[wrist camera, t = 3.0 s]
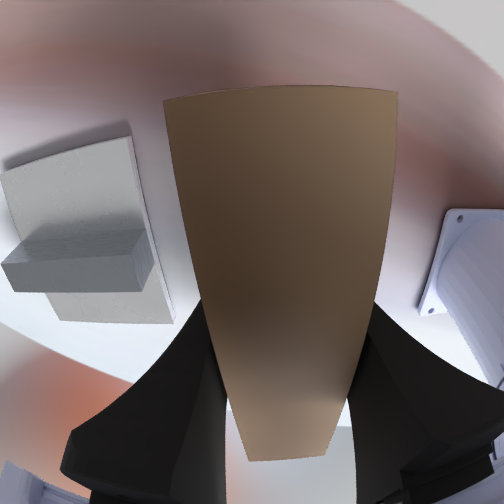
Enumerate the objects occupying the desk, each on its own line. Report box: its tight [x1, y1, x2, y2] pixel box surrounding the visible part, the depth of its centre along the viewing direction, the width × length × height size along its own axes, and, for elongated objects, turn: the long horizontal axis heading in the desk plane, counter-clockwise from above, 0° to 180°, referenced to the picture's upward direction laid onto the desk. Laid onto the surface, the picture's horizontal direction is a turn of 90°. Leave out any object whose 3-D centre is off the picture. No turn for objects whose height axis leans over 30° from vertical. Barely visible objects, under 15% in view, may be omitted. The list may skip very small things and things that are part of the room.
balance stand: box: [0, 135, 176, 324], centre depth 14 cm, size 9×11×3 cm
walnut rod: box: [163, 85, 398, 461], centre depth 10 cm, size 4×14×5 cm, turn 5°
